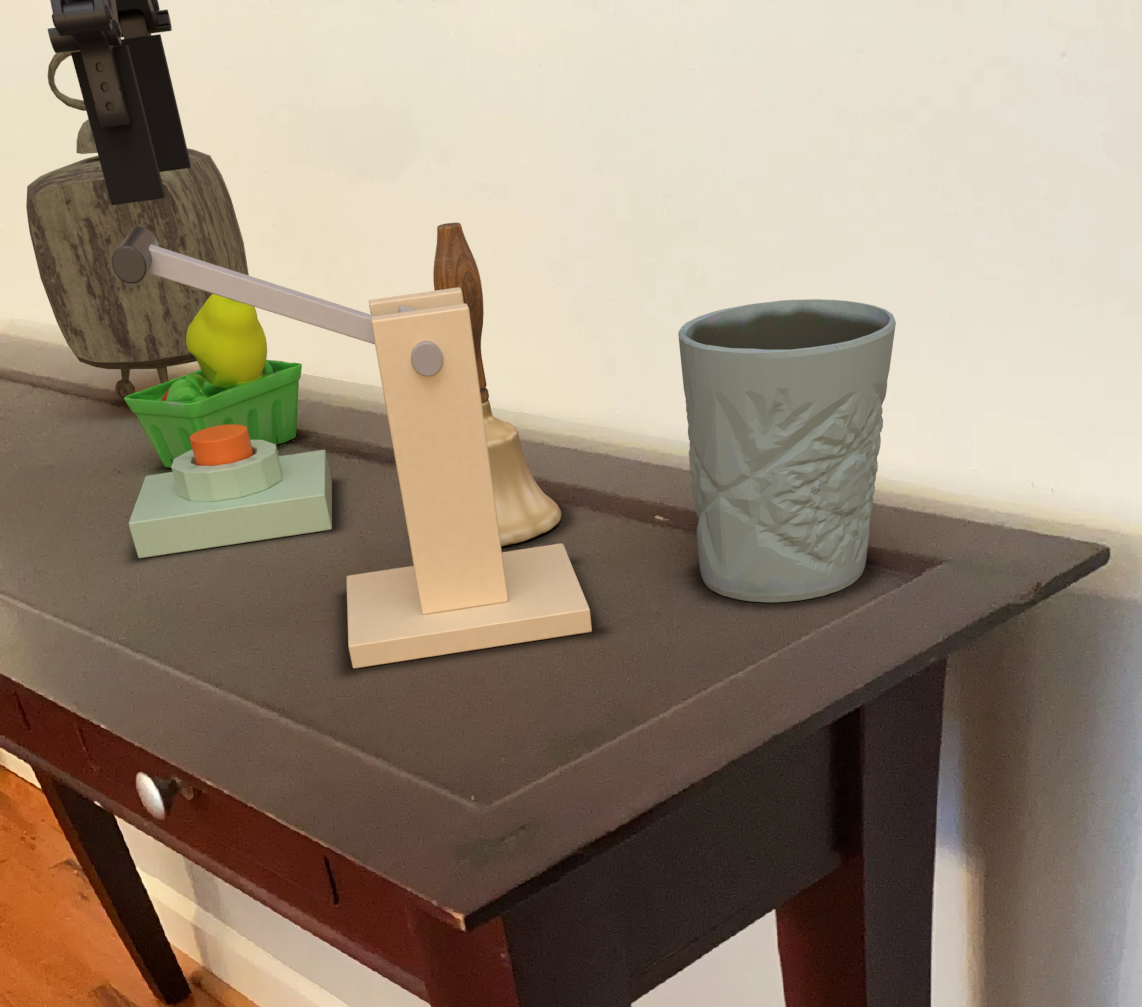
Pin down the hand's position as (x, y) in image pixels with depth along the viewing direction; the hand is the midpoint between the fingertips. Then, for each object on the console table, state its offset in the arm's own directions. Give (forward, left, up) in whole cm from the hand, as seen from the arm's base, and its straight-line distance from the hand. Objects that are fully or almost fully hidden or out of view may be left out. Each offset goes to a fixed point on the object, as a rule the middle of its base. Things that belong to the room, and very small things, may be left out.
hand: (154, 185), depth 77 cm
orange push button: (0, +1, -15) cm, 15 cm away
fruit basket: (-1, +17, -19) cm, 25 cm away
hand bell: (+16, -8, -19) cm, 26 cm away
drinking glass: (+30, -22, -19) cm, 42 cm away
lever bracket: (+13, -21, -19) cm, 31 cm away
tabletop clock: (-7, +35, -19) cm, 40 cm away
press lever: (+7, -21, -4) cm, 23 cm away
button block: (0, +1, -19) cm, 19 cm away
